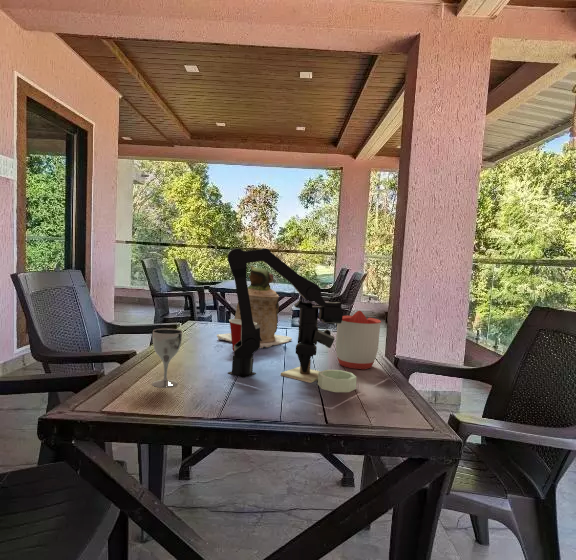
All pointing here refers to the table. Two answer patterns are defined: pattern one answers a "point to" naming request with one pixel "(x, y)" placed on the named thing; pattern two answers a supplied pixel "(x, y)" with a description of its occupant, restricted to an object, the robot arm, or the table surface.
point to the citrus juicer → (357, 341)
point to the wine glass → (166, 351)
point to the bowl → (337, 381)
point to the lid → (302, 374)
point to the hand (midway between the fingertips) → (304, 370)
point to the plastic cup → (236, 330)
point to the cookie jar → (262, 308)
